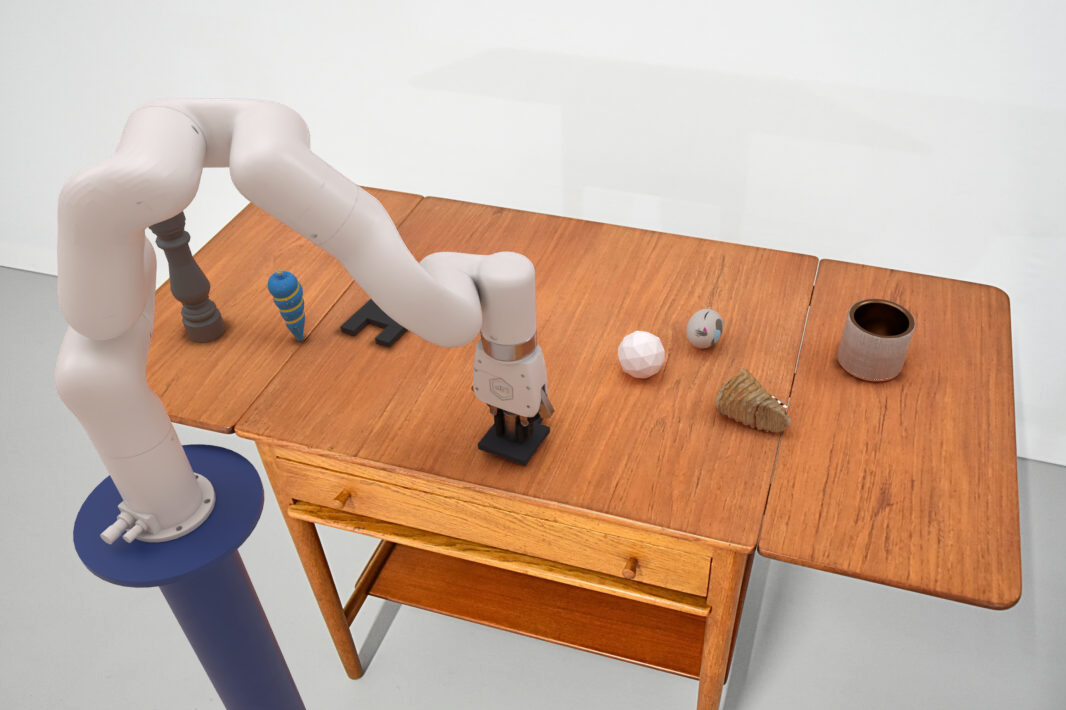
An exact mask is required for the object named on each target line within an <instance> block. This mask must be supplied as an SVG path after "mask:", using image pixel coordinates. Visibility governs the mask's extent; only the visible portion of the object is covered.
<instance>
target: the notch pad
mask: <svg viewBox="0 0 1066 710" xmlns="http://www.w3.org/2000/svg"><path fill="white" fill-rule="evenodd" d="M368 324H369V325H373V326H375V327H377V328H381V329H383V330H381V331H380V332H379V333H378V334H377V336H375V338H374V341H375V344H377V345H379V346H383V347H385V348H389V349H390V348H391V347H392V346H393V345H394V344H395V343H396V342H397V341H398V340H399V339H400V338H401V337H402V336H403V335H404V334H405V333H406V332H407V331H409V330H408V329H406V328H405V327H403V326H401V325H400V324H398V323H397V322H396V321H394V320H393V319H392V318H391V317H389V316H388V315H387V314H386V313H385V312H384V311H383V310H382V309H381V308H380V307H379V306H378V305H377V304H376V303H375V302H374V301H373V300H372V299H371V298H370V299H369V300H367V301H366V303H364V304H363V305H362V306H360V308H359V309H358V310H357V311H356V312H355V313H353V314H352V315H351V316H350V317H349V318H348V319H347V320H346V321H344V322H343V324H342V325H340V326H339V328H340V332H341V333H343V334H347V335H350V336H353V337H356V336H357V335H358V334H359V333H360V332H361V331H362V330H363V329H364V328H365V327H366V326H367V325H368Z"/></svg>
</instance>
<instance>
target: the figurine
mask: <svg viewBox="0 0 1066 710" xmlns="http://www.w3.org/2000/svg"><path fill="white" fill-rule="evenodd" d="M685 330H686V332H685V333H686V337H687V340H688V342H689V344H691V345H692V346H693V347H695V348H697V349H707V348H711V347H712V346H714V345H715V344H716V343H717V342H718V341H720V338H721V336H722V334H723V332H724V322H723V318H722V317H721V315H720V313H718V312H717V311H716V310H714V309H711V306H709V307H708V308H701V309H699V310H697V311H696V312H695V313H694V314H693V315H691V316H690V318H689V320H688V322H687V325H686V329H685Z"/></svg>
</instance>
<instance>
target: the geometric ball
mask: <svg viewBox="0 0 1066 710" xmlns="http://www.w3.org/2000/svg"><path fill="white" fill-rule="evenodd" d="M617 356H618V362H619V365H620V367H621V369H622V371H623V372H624V373H626V374H628V375H629V376H631V377H633V378H635V379H648V378H650V377H652V376H654V375H656V374H658V373H659V371H660V370H661V368H662V367H663V365H664V364H665V362H666V351H665V348H664V345H663V343H662V341H661V338H660V337H658V336H657V335H655V334H653V333H651V332H649V331H645V330H644V331H643V330H634V331H633V332H631V333H629V334H627V335H625V336H624V337H623V339H622V340H621V342H620V344H619V346H618V347H617Z"/></svg>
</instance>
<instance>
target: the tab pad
mask: <svg viewBox="0 0 1066 710" xmlns="http://www.w3.org/2000/svg"><path fill="white" fill-rule="evenodd" d="M544 420H545V418H543V419H541V418H539V419H538V420H536V421H534V422H533V434H532V436H531V437H530V438H527V439H526V441H525V442H524V443H523V444H519V442H518V432H517V425H518V423H519V422H520V416H519V415H518V414H515V413H512V412H509V411H506V410H503V425H504V433H503V434H502V436H497V435H496V426H494V423H493V424H492V425H491V426H490V428H489V429H488V430H487V432H486V433H485V434H484V435H483V436H482V438H481V439H480V440H479V441H478V442H477V450H479V451H481V452H484V453H487V454H490V455H493V456H495V457H498V458H500V459H502V460H503V459H504V460H506V461H509V462H511V463H514V464H517V465H519V466H522V467H527V465H528V464H529V462H530V461H531V459H532V458H533V456H535V454H536V453H537V451H538V450H539V448H540V447H541V446H542V445H543V443H544V442H545V440H546V439H547V437H548V436H549V435H550V433H551V426H548V425H546V424H543V423H542V422H543V421H544Z"/></svg>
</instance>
